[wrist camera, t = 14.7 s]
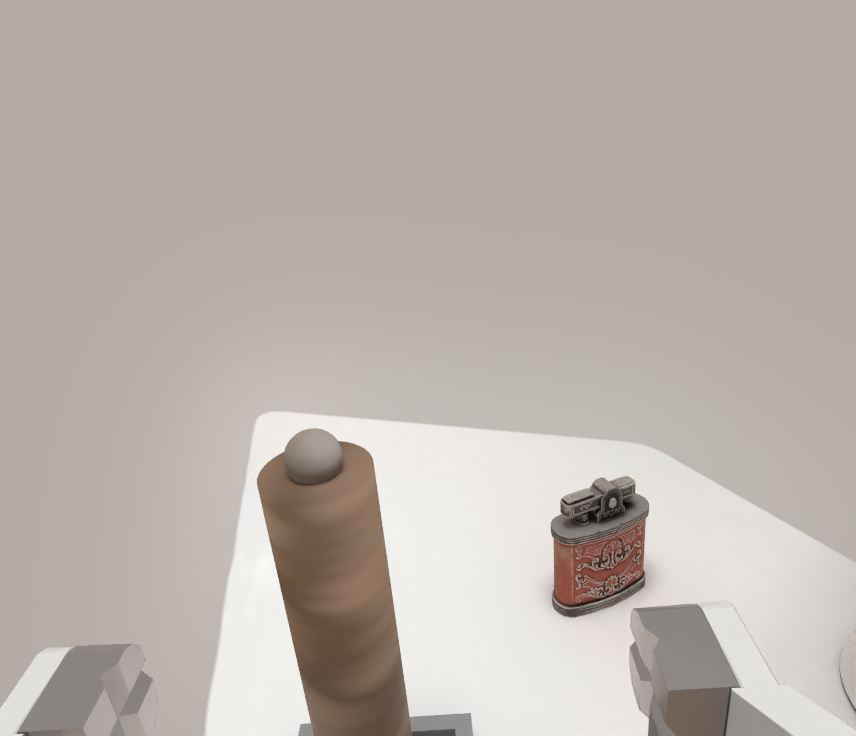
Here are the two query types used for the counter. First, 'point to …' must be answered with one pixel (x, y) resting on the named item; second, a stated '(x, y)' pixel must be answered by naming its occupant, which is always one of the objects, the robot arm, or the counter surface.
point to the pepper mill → (336, 584)
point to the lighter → (598, 547)
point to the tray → (427, 726)
